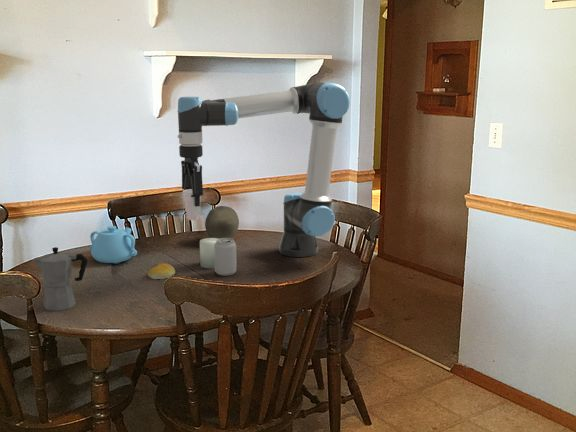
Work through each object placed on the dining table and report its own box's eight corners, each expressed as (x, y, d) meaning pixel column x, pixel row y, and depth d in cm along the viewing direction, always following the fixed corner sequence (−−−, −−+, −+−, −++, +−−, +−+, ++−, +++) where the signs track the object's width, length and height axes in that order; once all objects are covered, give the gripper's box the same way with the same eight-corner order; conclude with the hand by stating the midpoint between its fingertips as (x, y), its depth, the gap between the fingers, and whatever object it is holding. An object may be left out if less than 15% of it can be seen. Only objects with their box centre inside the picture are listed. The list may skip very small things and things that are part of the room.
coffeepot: (33, 312, 182) (27, 253, 178) (39, 301, 191) (34, 244, 187) (88, 309, 185) (84, 250, 180) (92, 298, 194) (88, 241, 189)
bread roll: (144, 278, 212) (143, 267, 211) (158, 271, 220) (158, 260, 219) (165, 281, 209) (164, 270, 208) (179, 273, 217) (178, 262, 216)
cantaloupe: (197, 243, 253) (196, 207, 250) (220, 236, 265) (219, 201, 261) (225, 249, 246) (224, 212, 242) (246, 241, 257) (246, 205, 254)
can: (233, 277, 214) (232, 243, 211) (211, 275, 215) (211, 242, 212) (239, 270, 221) (238, 237, 218) (218, 269, 222) (218, 236, 219)
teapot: (78, 263, 228) (75, 229, 225) (109, 248, 246) (107, 217, 243) (126, 268, 222) (124, 234, 219) (154, 253, 241) (152, 221, 238)
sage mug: (220, 259, 233) (220, 236, 231) (230, 265, 227) (230, 241, 225) (196, 263, 228) (195, 239, 226) (206, 269, 221) (205, 245, 219)
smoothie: (199, 221, 208) (198, 179, 204) (180, 220, 209) (179, 179, 205) (205, 217, 214) (203, 176, 211) (186, 216, 215) (185, 176, 212)
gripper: (170, 142, 212) (173, 208, 217) (189, 148, 195) (192, 220, 201) (191, 141, 215) (193, 206, 221) (212, 147, 199) (214, 218, 204)
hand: (192, 213), depth 211 cm, fingers closed on smoothie, 6 cm apart
